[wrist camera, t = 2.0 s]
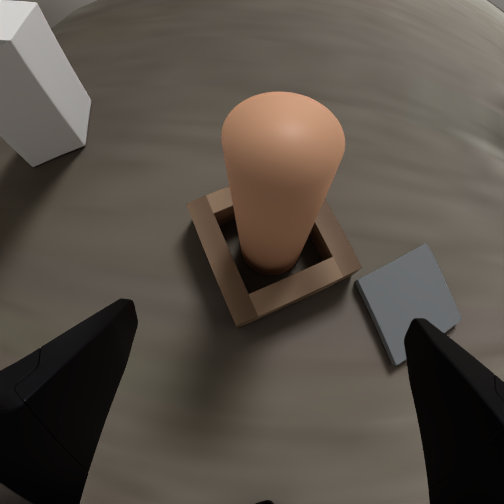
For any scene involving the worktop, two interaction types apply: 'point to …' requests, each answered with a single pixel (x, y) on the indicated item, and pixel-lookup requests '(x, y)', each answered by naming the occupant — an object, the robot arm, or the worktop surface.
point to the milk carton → (38, 88)
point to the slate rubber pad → (407, 298)
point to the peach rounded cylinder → (279, 173)
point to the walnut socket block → (286, 290)
